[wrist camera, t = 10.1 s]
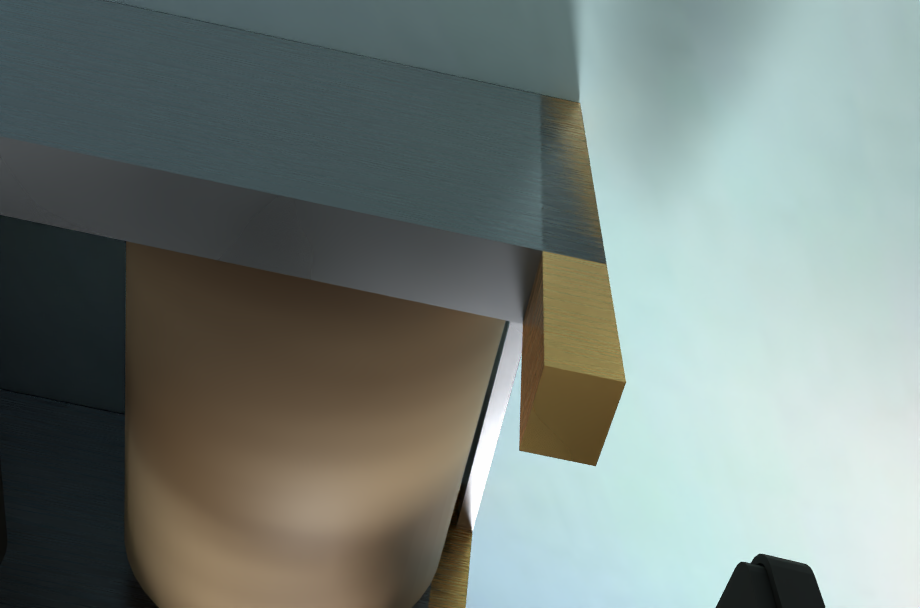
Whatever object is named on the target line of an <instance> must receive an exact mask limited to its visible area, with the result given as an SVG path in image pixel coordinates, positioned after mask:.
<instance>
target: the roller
mask: <svg viewBox="0 0 920 608" xmlns="http://www.w3.org/2000/svg"><path fill="white" fill-rule="evenodd" d="M505 321H506V320H501V319H497V318H492V317H487V316H482V315H477V314H473V313H468V312H463V311H458V310H453V309H449V308H444V307H439V306H434V305H429V304H425V303H420V302H415V301H410V300H405V299H401V298H396V297H391V296H386V295H382V294H377V293H372V292H367V291H362V290H358V289H353V288H348V287H343V286H338V285H334V284H329V283H324V282H319V281H314V280H310V279H305V278H300V277H295V276H290V275H286V274H281V273H276V272H271V271H267V270H262V269H257V268H252V267H247V266H243V265H238V264H233V263H228V262H223V261H219V260H214V259H209V258H204V257H199V256H195V255H190V254H185V253H180V252H175V251H171V250H166V249H161V248H156V247H151V246H147V245H142V244H137V243H132V242H128V241H126V333H125V508H124V543H125V548H126V553H127V558H128V561H129V564H130V566H131V569H132V571H133V574H134V576H135V577H136V579H137V581H138V582H139V584H140V586H141V587H142V589H143V590H144V592H145V593H146V594H147V595H148V596H149V597H150V599H151V600H152V601H153V602H154V603H155V604H156V605H157V606H158V607H159V608H412V607H413V606H414V605H415V604H416V603H417V602H418V601H419V599H420V598H421V597H422V595H423V594H424V593H425V591H426V590H427V588H428V587H429V585H430V583H431V581H432V579H433V577H434V575H435V573H436V571H437V568H438V564H439V561H440V557H441V554H442V550H443V547H444V543H445V539H446V536H447V532H448V528H449V525H450V521H451V517H452V514H453V510H454V506H455V503H456V499H457V496H458V492H459V488H460V485H461V481H462V477H463V474H464V470H465V466H466V463H467V459H468V456H469V452H470V448H471V445H472V441H473V437H474V434H475V430H476V426H477V423H478V419H479V416H480V412H481V408H482V405H483V401H484V397H485V394H486V390H487V386H488V383H489V379H490V376H491V372H492V368H493V365H494V361H495V357H496V354H497V350H498V346H499V343H500V339H501V336H502V332H503V328H504V325H505Z"/></svg>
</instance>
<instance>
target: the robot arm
mask: <svg viewBox="0 0 920 608" xmlns="http://www.w3.org/2000/svg"><path fill="white" fill-rule="evenodd" d="M6 549H7V528H6V517H5V505H4V494H3V482H2V471H1V460H0V565H1V563H2V561H3V558H4V556H5V553H6ZM716 608H825V605H824V602H823V599H822V596H821V593H820V590H819V587H818V584H817V581H816V578H815V575H814V573H813V571H812V569H811V568H810V567H809V566H808V565H807V564H803V563H799V562H795V561H791V560H787V559H782V558H778V557H774V556H770V555H765V554H758V555H757V556H756V557H754V559H753V560H752V562H751V563H746V562H740V563H739V564H738V565H737V566H736V568H735V570H734V572H733V574H732V576H731V578H730V580H729V582H728V584H727V586H726V588H725V590H724V592H723V594H722V596H721V598H720V600H719V602H718V604H717V606H716Z"/></svg>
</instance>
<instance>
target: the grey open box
mask: <svg viewBox="0 0 920 608" xmlns="http://www.w3.org/2000/svg"><path fill="white" fill-rule="evenodd" d="M0 215H3V216H8V217H13V218H17V219H22V220H27V221H32V222H36V223H41V224H46V225H51V226H56V227H60V228H65V229H70V230H75V231H80V232H84V233H89V234H94V235H99V236H104V237H108V238H113V239H118V240H123V241H128V242H132V243H137V244H142V245H147V246H151V247H156V248H161V249H166V250H171V251H175V252H180V253H185V254H190V255H195V256H199V257H204V258H209V259H214V260H219V261H223V262H228V263H233V264H238V265H243V266H247V267H252V268H257V269H262V270H267V271H271V272H276V273H281V274H286V275H290V276H295V277H300V278H305V279H310V280H314V281H319V282H324V283H329V284H334V285H338V286H343V287H348V288H353V289H358V290H362V291H367V292H372V293H377V294H382V295H386V296H391V297H396V298H401V299H405V300H410V301H415V302H420V303H425V304H429V305H434V306H439V307H444V308H449V309H453V310H458V311H463V312H468V313H473V314H477V315H482V316H487V317H492V318H497V319H501V320H506V321H505V325H504V328H503V332H502V336H501V339H500V343H499V346H498V350H497V354H496V357H495V361H494V365H493V368H492V372H491V376H490V379H489V383H488V386H487V390H486V394H485V397H484V401H483V405H482V408H481V412H480V416H479V419H478V423H477V426H476V430H475V434H474V437H473V441H472V445H471V448H470V452H469V456H468V459H467V463H466V466H465V470H464V474H463V478H462V482H461V485H460V488H459V492H458V496H457V499H456V503H455V506H454V510H453V514H452V517H451V521H450V525H449V528H448V532H447V536H446V539H445V543H444V547H443V550H442V554H441V557H440V561H439V564H438V568H437V571H436V573H435V575H434V577H433V579H432V581H431V583H430V585H429V587H428V588H427V590H426V591H425V593H424V594H423V595H422V597H421V598H420V599H419V601H418V602H417V603H416V604H415V605H414V606H413V607H412V608H465V607H466V596H467V585H468V574H469V563H470V552H471V541H472V531H473V527H474V524H475V520H476V517H477V513H478V509H479V506H480V502H481V499H482V495H483V491H484V488H485V484H486V480H487V477H488V473H489V470H490V466H491V462H492V459H493V455H494V452H495V448H496V444H497V441H498V437H499V434H500V430H501V426H502V423H503V419H504V415H505V412H506V408H507V405H508V401H509V397H510V394H511V390H512V387H513V383H514V379H515V376H516V372H517V368H518V365H519V361H520V358H521V354H522V370H521V407H520V444H519V451H524V452H529V453H534V454H539V455H544V456H549V457H554V458H558V459H563V460H568V461H573V462H578V463H583V464H588V465H593V466H596V464H597V461H598V459H599V456H600V453H601V450H602V448H603V445H604V442H605V439H606V436H607V434H608V431H609V428H610V425H611V423H612V420H613V417H614V414H615V411H616V409H617V406H618V403H619V400H620V398H621V395H622V392H623V389H624V386H625V384H626V380H625V374H624V368H623V362H622V355H621V349H620V343H619V337H618V331H617V325H616V319H615V313H614V307H613V301H612V295H611V289H610V283H609V276H608V270H607V264H606V258H605V252H604V246H603V240H602V234H601V228H600V222H599V216H598V210H597V204H596V197H595V191H594V185H593V179H592V173H591V167H590V161H589V155H588V149H587V143H586V137H585V131H584V125H583V118H582V112H581V106H580V103H577V102H573V101H568V100H563V99H559V98H554V97H549V96H545V95H540V94H536V93H531V92H526V91H522V90H517V89H512V88H508V87H503V86H499V85H494V84H489V83H485V82H480V81H475V80H471V79H466V78H462V77H457V76H452V75H448V74H443V73H438V72H434V71H429V70H425V69H420V68H415V67H411V66H406V65H401V64H397V63H392V62H387V61H383V60H378V59H374V58H369V57H364V56H360V55H355V54H350V53H346V52H341V51H337V50H332V49H327V48H323V47H318V46H313V45H309V44H304V43H300V42H295V41H290V40H286V39H281V38H276V37H272V36H267V35H263V34H258V33H253V32H249V31H244V30H239V29H235V28H230V27H225V26H221V25H216V24H212V23H207V22H202V21H198V20H193V19H188V18H184V17H179V16H175V15H170V14H165V13H161V12H156V11H151V10H147V9H142V8H138V7H133V6H128V5H124V4H119V3H114V2H110V1H105V0H0ZM0 460H1V471H2V482H3V494H4V505H5V517H6V528H7V549H6V553H5V556H4V558H3V561H2V563H1V565H0V608H159V607H158V606H157V605H156V604H155V603H154V602H153V601H152V600H151V599H150V597H149V596H148V595H147V594H146V593H145V592H144V590H143V589H142V587H141V586H140V584H139V582H138V581H137V579H136V577H135V576H134V574H133V571H132V569H131V566H130V564H129V561H128V558H127V553H126V548H125V543H124V508H125V415H123V414H118V413H113V412H109V411H104V410H99V409H94V408H89V407H84V406H79V405H74V404H69V403H64V402H59V401H54V400H49V399H45V398H40V397H35V396H30V395H25V394H20V393H15V392H10V391H5V390H0Z"/></svg>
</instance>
